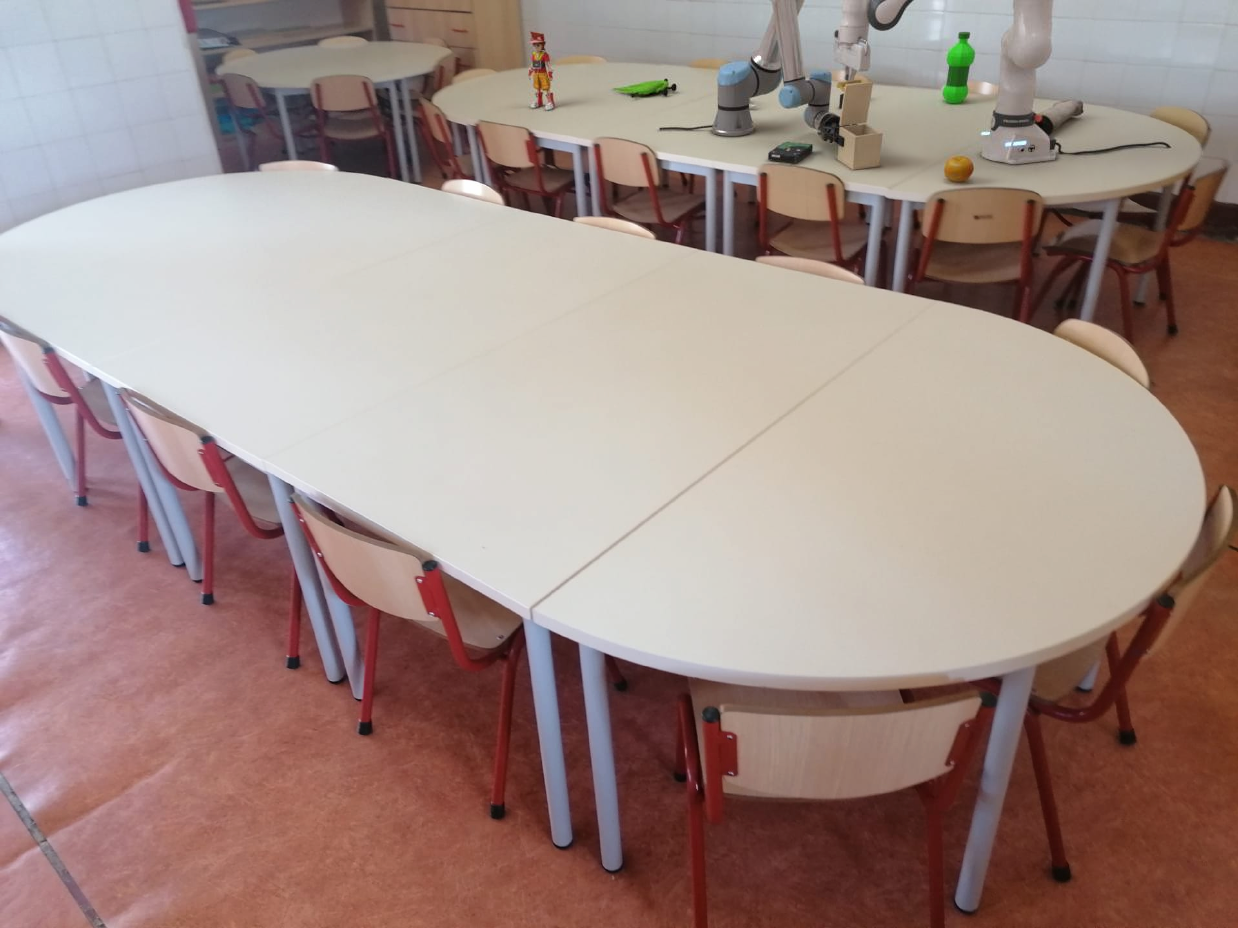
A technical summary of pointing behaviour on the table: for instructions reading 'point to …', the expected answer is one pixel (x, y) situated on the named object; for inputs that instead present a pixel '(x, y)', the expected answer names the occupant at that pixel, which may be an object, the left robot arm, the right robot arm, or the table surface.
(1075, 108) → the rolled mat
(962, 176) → the fruit
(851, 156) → the chest
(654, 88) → the toy
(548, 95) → the toy
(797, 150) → the disk drive
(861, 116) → the lid
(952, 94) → the plastic bottle
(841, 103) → the midi keyboard
